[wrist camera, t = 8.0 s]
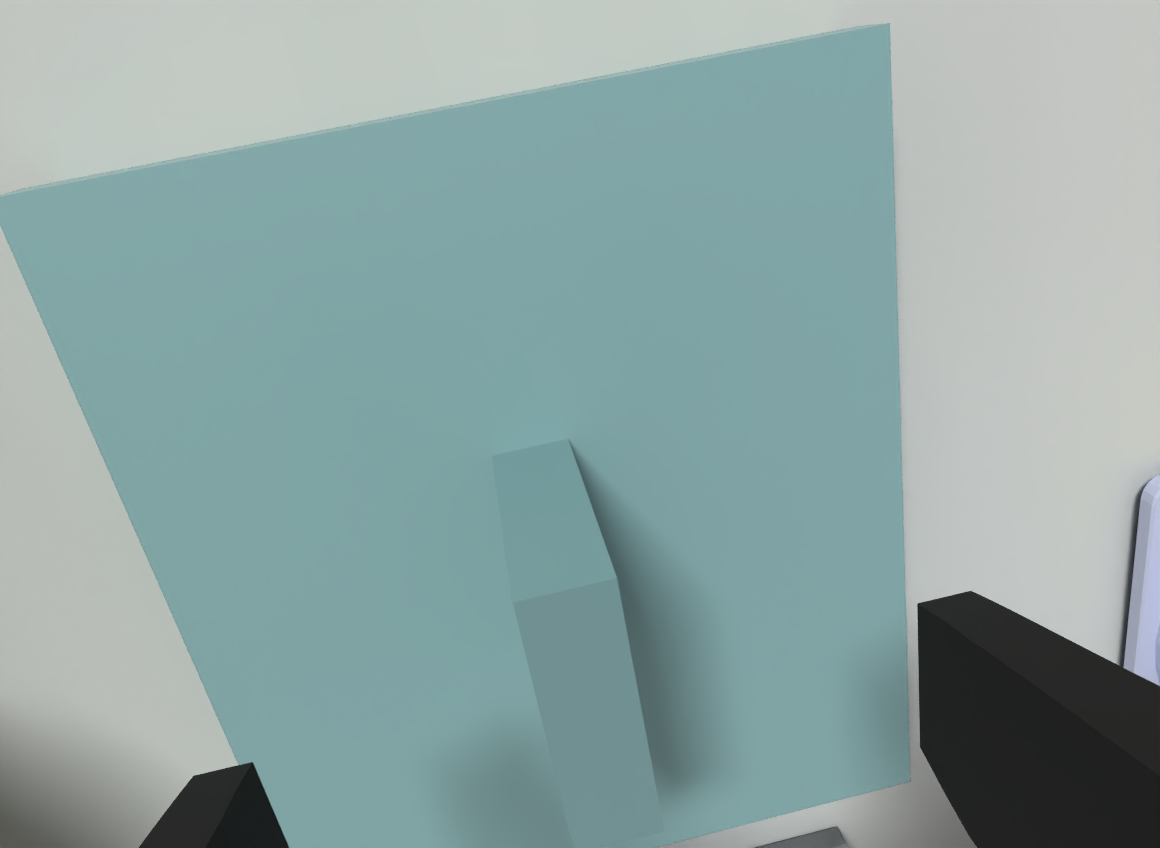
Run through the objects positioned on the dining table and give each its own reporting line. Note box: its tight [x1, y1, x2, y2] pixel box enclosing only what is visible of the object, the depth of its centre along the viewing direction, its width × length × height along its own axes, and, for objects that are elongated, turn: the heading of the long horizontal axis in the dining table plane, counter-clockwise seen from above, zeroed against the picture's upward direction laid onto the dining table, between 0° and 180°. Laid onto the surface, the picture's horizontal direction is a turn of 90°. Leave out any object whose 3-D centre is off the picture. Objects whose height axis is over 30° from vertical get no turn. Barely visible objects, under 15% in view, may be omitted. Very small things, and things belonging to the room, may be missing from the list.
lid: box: [0, 23, 910, 848], centre depth 13 cm, size 12×14×6 cm
